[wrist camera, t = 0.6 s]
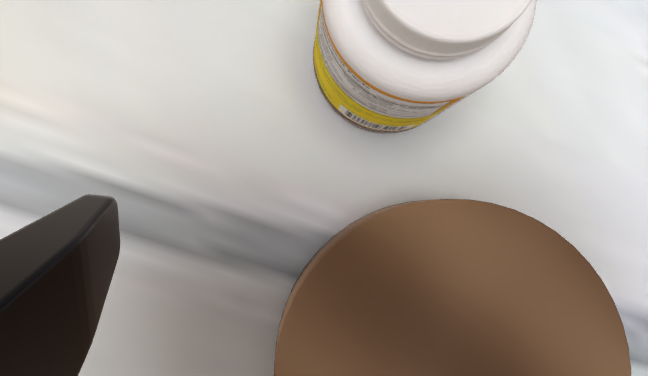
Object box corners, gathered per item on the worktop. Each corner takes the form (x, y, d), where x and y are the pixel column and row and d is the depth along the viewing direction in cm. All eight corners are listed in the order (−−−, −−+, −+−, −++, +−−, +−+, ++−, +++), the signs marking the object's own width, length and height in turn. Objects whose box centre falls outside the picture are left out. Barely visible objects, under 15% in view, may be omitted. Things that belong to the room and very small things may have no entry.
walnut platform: (444, 585, 23) (467, 642, 20) (208, 370, 22) (196, 396, 19) (648, 345, 23) (701, 365, 20) (423, 135, 23) (443, 124, 20)
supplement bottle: (419, -30, 23) (522, -214, 13) (477, 101, 23) (625, 18, 13) (287, 25, 23) (287, -121, 13) (346, 158, 23) (393, 119, 13)
